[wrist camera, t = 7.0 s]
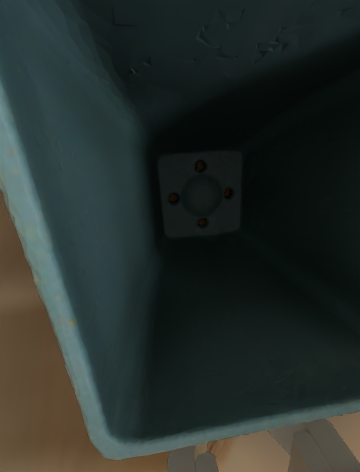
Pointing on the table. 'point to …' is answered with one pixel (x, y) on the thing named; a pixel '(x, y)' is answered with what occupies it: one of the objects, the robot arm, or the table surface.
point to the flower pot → (189, 208)
